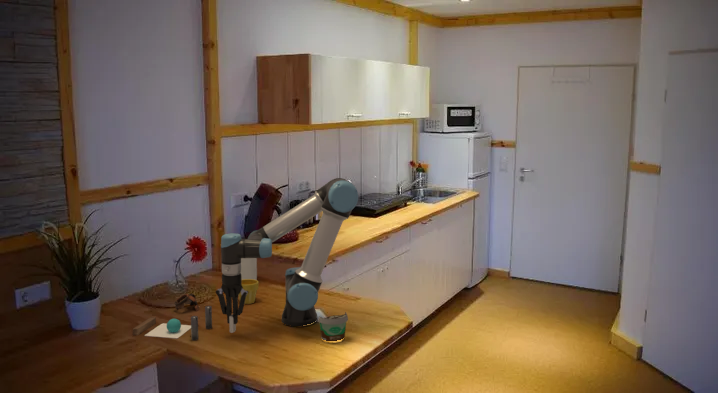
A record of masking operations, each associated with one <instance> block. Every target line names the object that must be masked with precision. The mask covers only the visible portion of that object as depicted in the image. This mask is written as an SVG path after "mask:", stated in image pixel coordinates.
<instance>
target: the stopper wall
mask: <svg viewBox="0 0 718 393" xmlns="http://www.w3.org/2000/svg"><path fill="white" fill-rule="evenodd" d="M156 318H157V317H156V316H154V317H153V316H150V317H149V318H148V319H145V320H144V321H142V322H141V323H140V324H138V325H136V326H135V327H134V328H132V336H139V335H140V334H142V333H143V332H144V331H145V332H146V330H148V329H149V328H151V327H152V326H154V325H156V323H157V321H156V320H157V319H156Z"/></svg>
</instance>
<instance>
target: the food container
mask: <svg viewBox="0 0 718 393" xmlns="http://www.w3.org/2000/svg"><path fill="white" fill-rule="evenodd" d="M348 321H349V317H348V314H347V312H346V311H345V313H344V314H340V315H339V314H338V315H336V314H334V315H330V316H326V317H322V316H321V315H320V316H318V317H317V323H319V329H320V338H322V339H323V340H326V341H337V340H341V339H343V338H344V337H345V336H346V328H347V326H346V325H347V322H348ZM344 339H345V338H344Z"/></svg>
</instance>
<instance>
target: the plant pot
mask: <svg viewBox="0 0 718 393" xmlns="http://www.w3.org/2000/svg"><path fill="white" fill-rule="evenodd" d="M241 284H242V287H243V289H244V290H245V291H248V294H247V295H246V298H245V303H244V305H250V304H253V303H255V301H256V296H257V292H258V291H257V290H259V285H260V284H259V280H254V279H243V280H242V283H241ZM241 296H242V295H241V292H240V293H239V295H238V300H240V299H241Z"/></svg>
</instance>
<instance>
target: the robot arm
mask: <svg viewBox="0 0 718 393" xmlns="http://www.w3.org/2000/svg"><path fill="white" fill-rule="evenodd" d="M358 203H359V193H358V189H357V187H356V186H355V185H354V184H353V183H352V182H350V181H348V180H347V179H346V178H342V177H335V178H334V179H330V180H329V181H328V182H326V183H325V184H324V185H322V186H321V187H319V188H318V189H316V190H315V192H314V194H313V195H311V196H310V197H308V198H306V200H303V201H301V202H300V203H299V204H297V205H296V206H294V207H293V208H291V209H289V210H288V211H286V212H284V213H282V215H279V216H278V217H276V218H275V219H273V220H272V221H270V222H269V223H267V224H266V225H264V226H262V227H261V228H259V229H257V230H253V231H252V232H251V233H250V234H249V235H248V237H247V238H242V237H241V236H242V235H241V234H239V233H233V232H230V233H225V234H223V235H222V236H221V239H220V240H221V242H220V244H221V245H220V253H221V254H220V255H221V257H220V258H221V273H222V274H221V284H222V285H220V288H217V289H216V290H215V294H216V295H217V297H218V298H217V299H218V301H219V305H220V310H221V314H223V315H225V316H226V317H227V320H226V322H227V324H228V325H229V333H231V334H232V333H233V334H234V333H235V332H236V331H237V324H238V322H239V319H238V318H239V316H241V314H243V313H244V312H243V311H244V306H245V304H244V303H245V298H246V295H247V294H248V291H245V290H244V289H243V287H242V284H241V283H242V277H241V258H257V259H265V258H271V257H272V256H273V243H274V242H276V241H277V240H278V239H281V238H282V237H283V236H285V235H287V234H288V233H290V232H292V231H293V230H295V229H297V227H299V226H301V225H303V224H304V223H306V222H307V221H309V220H310V219H312V218H313V217H315V216H317V215H319V214H321V213H322V214H321V217H320V220H319V223H318V224H317V227H316V229H315V232H314V234H313V237H312V239H311V242H310V244H309V247H308V249H307V251H306V254H305V256H304V259H303V261H302V263H301V266H299V267H297V266H296V267H290V268H287V269H286V270H285V275H284V276H285V305H284V308H283V311H282V313H281V323H282V324H283V323H284V324H283V325H285V324H286V325H285V326H287V325H291V326H290V327H293V326H303V325H307V324H311V323H313V322H315V321H316V320H317V321H318V314H317V310H316V308H315V305H317V302H318V299H319V292H320V288H321V287H322V284H323V278H322V273H323V272H324V269H325V266H326V264H327V261H328V259H329V256H330V253H331V251H332V249H333V247H334V244H335V242H336V240H337V236H338V234H339V231H340V229H341V227H342V224H343V223H344V221H346V220H348V219H349V218H350V215H351V214H352V210H353V209H354V208H356V206H357V204H358ZM240 292H241V295H242V296H241V299H239V293H240Z"/></svg>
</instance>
